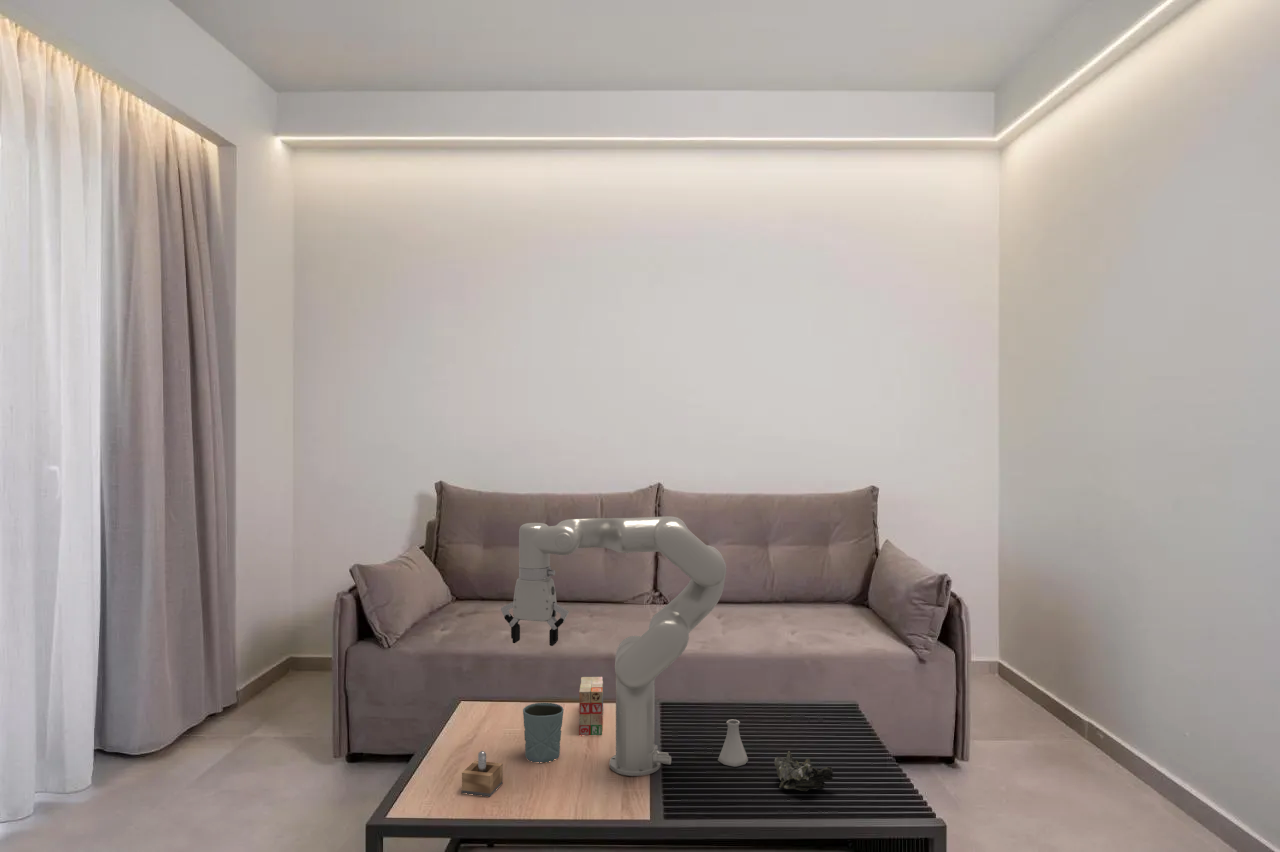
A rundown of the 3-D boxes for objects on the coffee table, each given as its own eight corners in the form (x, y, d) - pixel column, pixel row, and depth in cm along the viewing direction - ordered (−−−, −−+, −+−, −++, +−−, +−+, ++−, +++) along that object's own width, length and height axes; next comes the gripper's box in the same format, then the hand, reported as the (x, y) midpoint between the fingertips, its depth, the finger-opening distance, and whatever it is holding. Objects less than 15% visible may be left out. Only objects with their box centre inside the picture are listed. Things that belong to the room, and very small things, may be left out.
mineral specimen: (848, 769, 193) (822, 733, 193) (816, 810, 186) (789, 773, 187) (809, 767, 206) (785, 734, 206) (778, 805, 199) (753, 771, 199)
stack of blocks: (582, 708, 247) (582, 666, 247) (603, 708, 248) (603, 666, 247) (579, 736, 226) (579, 690, 226) (602, 736, 226) (602, 690, 226)
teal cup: (514, 756, 213) (514, 709, 212) (545, 744, 220) (545, 699, 220) (541, 767, 206) (541, 719, 205) (571, 755, 213) (571, 708, 213)
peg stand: (502, 783, 197) (502, 746, 197) (489, 797, 190) (489, 758, 190) (474, 780, 199) (474, 743, 198) (461, 793, 192) (461, 755, 192)
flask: (753, 761, 210) (753, 721, 210) (736, 770, 205) (736, 729, 205) (730, 753, 215) (730, 714, 215) (712, 761, 210) (712, 721, 210)
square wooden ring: (502, 780, 197) (502, 763, 197) (490, 793, 190) (490, 776, 190) (474, 777, 198) (474, 760, 198) (461, 790, 192) (461, 772, 192)
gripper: (572, 572, 208) (572, 641, 208) (507, 569, 212) (507, 636, 212) (562, 578, 200) (562, 649, 201) (495, 574, 205) (495, 644, 205)
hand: (534, 643), depth 206 cm, fingers open, 9 cm apart
